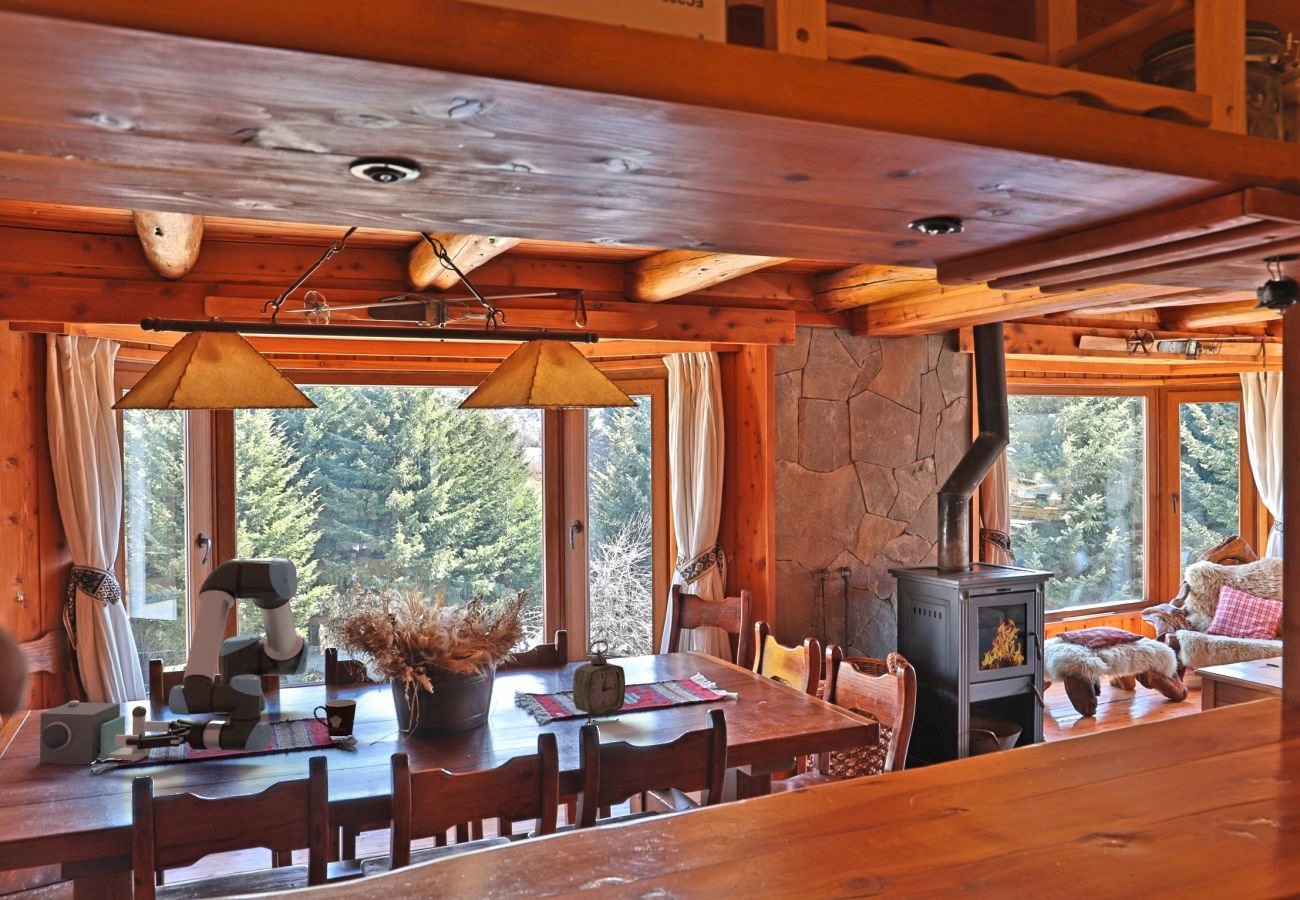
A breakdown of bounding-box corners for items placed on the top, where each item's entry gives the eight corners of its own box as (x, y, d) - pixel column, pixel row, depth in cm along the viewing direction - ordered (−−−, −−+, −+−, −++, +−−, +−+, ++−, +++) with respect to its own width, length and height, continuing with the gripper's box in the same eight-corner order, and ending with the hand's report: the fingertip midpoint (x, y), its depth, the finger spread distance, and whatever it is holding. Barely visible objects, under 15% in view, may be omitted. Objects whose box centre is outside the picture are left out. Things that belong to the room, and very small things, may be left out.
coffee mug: (362, 736, 288) (362, 701, 289) (339, 743, 281) (339, 707, 281) (334, 730, 294) (334, 696, 295) (310, 737, 287) (311, 702, 287)
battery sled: (154, 753, 269) (155, 702, 269) (134, 763, 260) (135, 710, 260) (85, 751, 270) (86, 700, 270) (63, 761, 261) (64, 708, 261)
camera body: (119, 751, 271) (119, 699, 271) (86, 767, 257) (87, 712, 257) (69, 750, 272) (70, 698, 272) (34, 765, 258) (35, 711, 258)
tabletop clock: (587, 729, 299) (588, 645, 299) (569, 722, 306) (570, 641, 306) (624, 721, 308) (625, 640, 309) (606, 715, 315) (607, 636, 315)
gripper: (184, 763, 251) (102, 761, 252) (231, 736, 276) (156, 734, 277) (185, 733, 251) (103, 731, 252) (232, 709, 276) (157, 707, 277)
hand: (131, 733), depth 264 cm, fingers open, 13 cm apart
